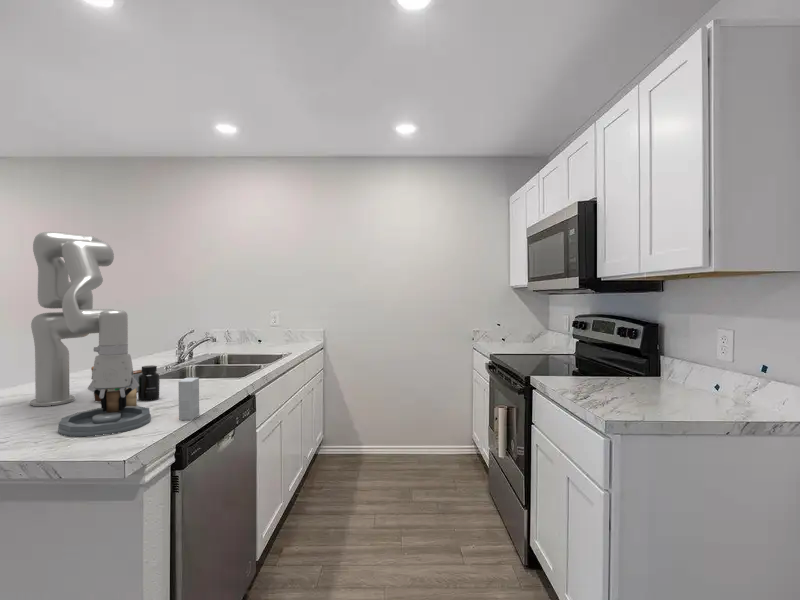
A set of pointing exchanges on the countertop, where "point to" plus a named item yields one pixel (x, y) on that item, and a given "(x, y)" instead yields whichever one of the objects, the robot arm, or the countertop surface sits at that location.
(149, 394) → the supplement bottle
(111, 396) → the walnut bead
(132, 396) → the oak bead
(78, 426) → the slate tray
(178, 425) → the countertop surface
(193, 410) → the skincare box
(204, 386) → the countertop surface
